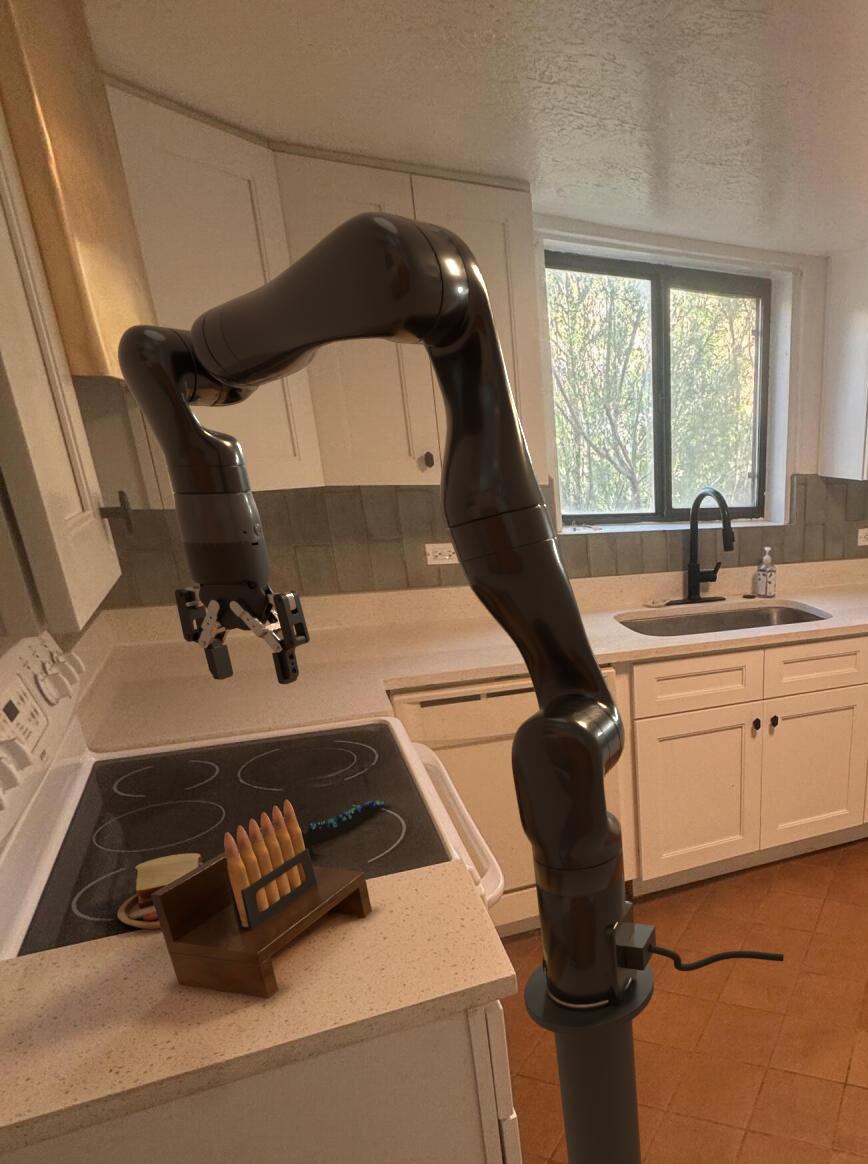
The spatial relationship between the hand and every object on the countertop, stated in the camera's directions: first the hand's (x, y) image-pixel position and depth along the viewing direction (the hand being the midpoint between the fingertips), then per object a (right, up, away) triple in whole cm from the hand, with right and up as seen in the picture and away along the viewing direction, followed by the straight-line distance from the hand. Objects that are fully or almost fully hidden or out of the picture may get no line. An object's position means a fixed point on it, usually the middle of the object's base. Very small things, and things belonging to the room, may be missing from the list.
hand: (256, 680), depth 90 cm
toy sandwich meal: (-20, -29, +15) cm, 39 cm away
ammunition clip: (0, -27, +4) cm, 27 cm away
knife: (-9, -24, +30) cm, 39 cm away
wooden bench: (-1, -32, +7) cm, 33 cm away
